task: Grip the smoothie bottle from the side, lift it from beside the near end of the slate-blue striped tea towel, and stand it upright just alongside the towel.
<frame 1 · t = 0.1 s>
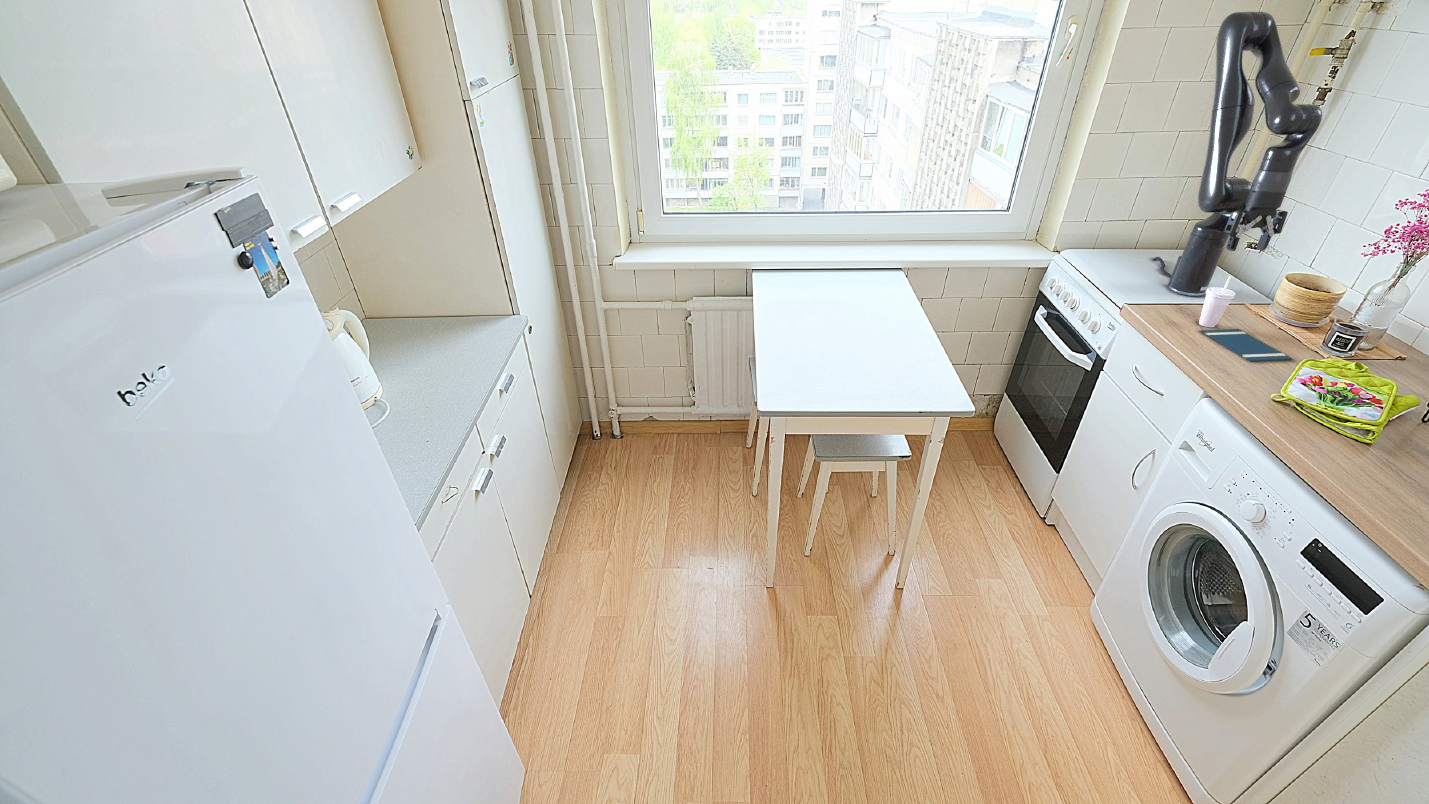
hand: (1245, 250, 174), 17 cm above the countertop, tool pointing down, fingers open, 8 cm apart
smoothie: (1206, 325, 174), on the countertop
tea towel: (1243, 345, 163), on the countertop
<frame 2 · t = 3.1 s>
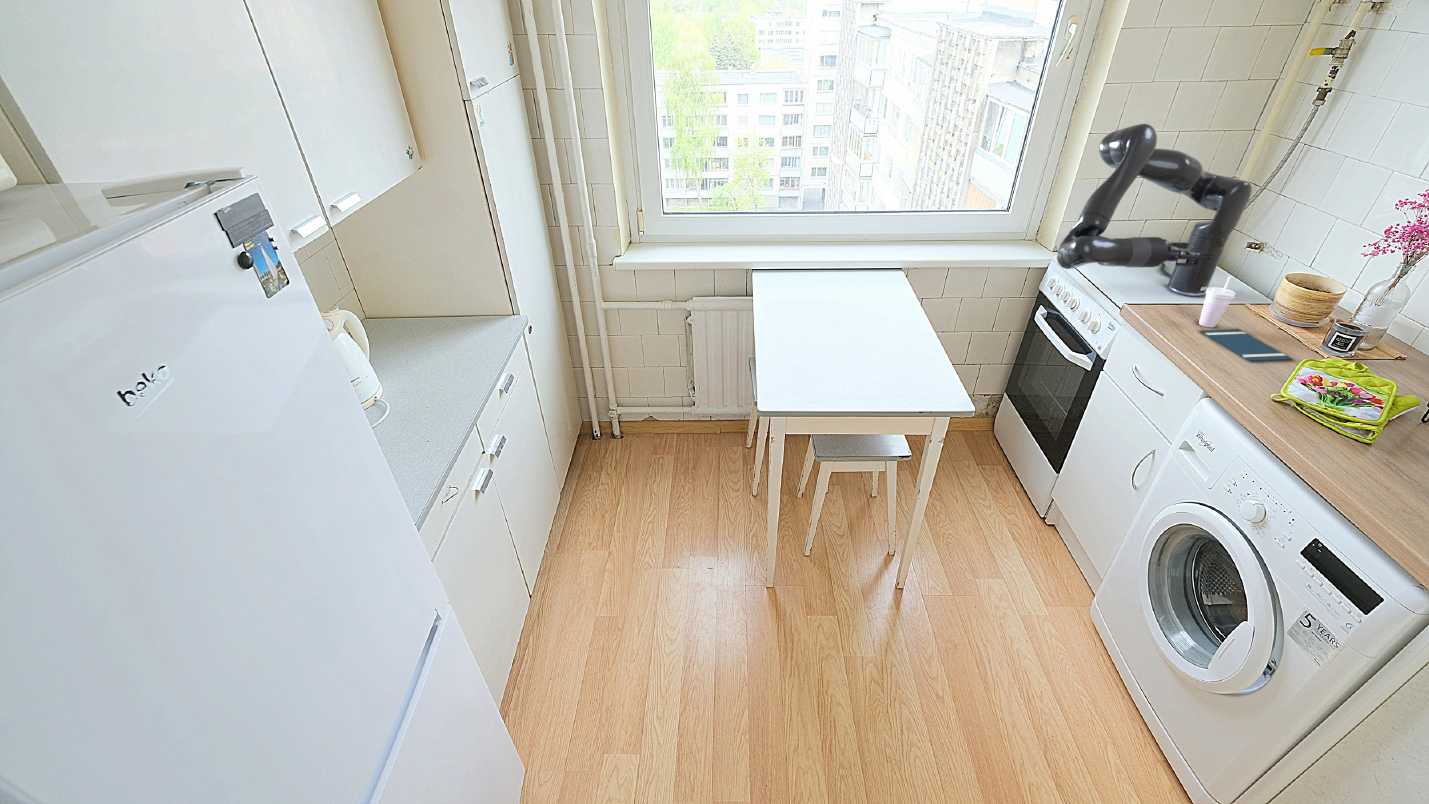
hand: (1198, 252, 163), 20 cm above the countertop, tool horizontal, fingers open, 8 cm apart
nothing on the countertop moved.
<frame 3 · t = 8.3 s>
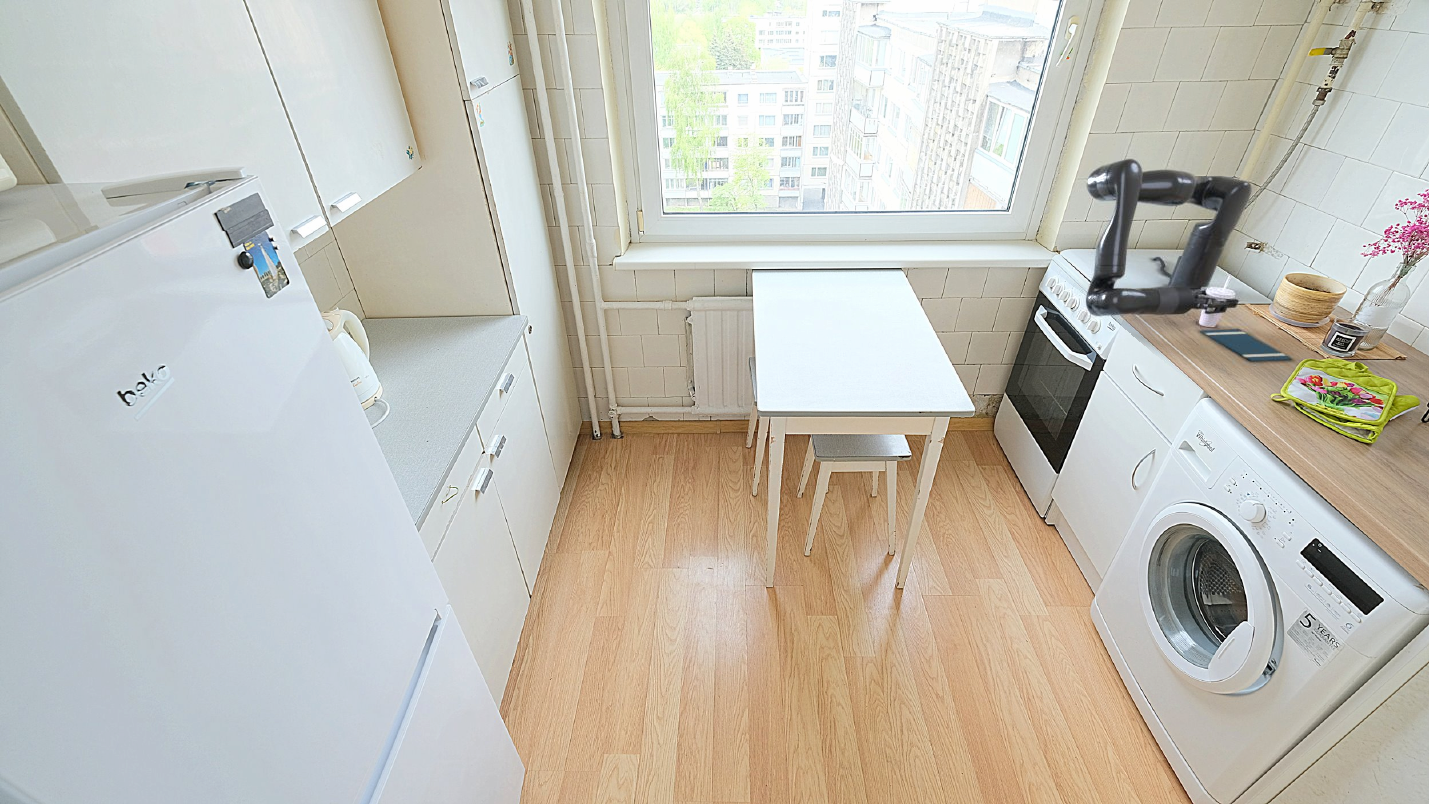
hand: (1226, 298, 170), 8 cm above the countertop, tool horizontal, fingers closed on smoothie, 6 cm apart
smoothie: (1206, 325, 173), on the countertop, touching gripper
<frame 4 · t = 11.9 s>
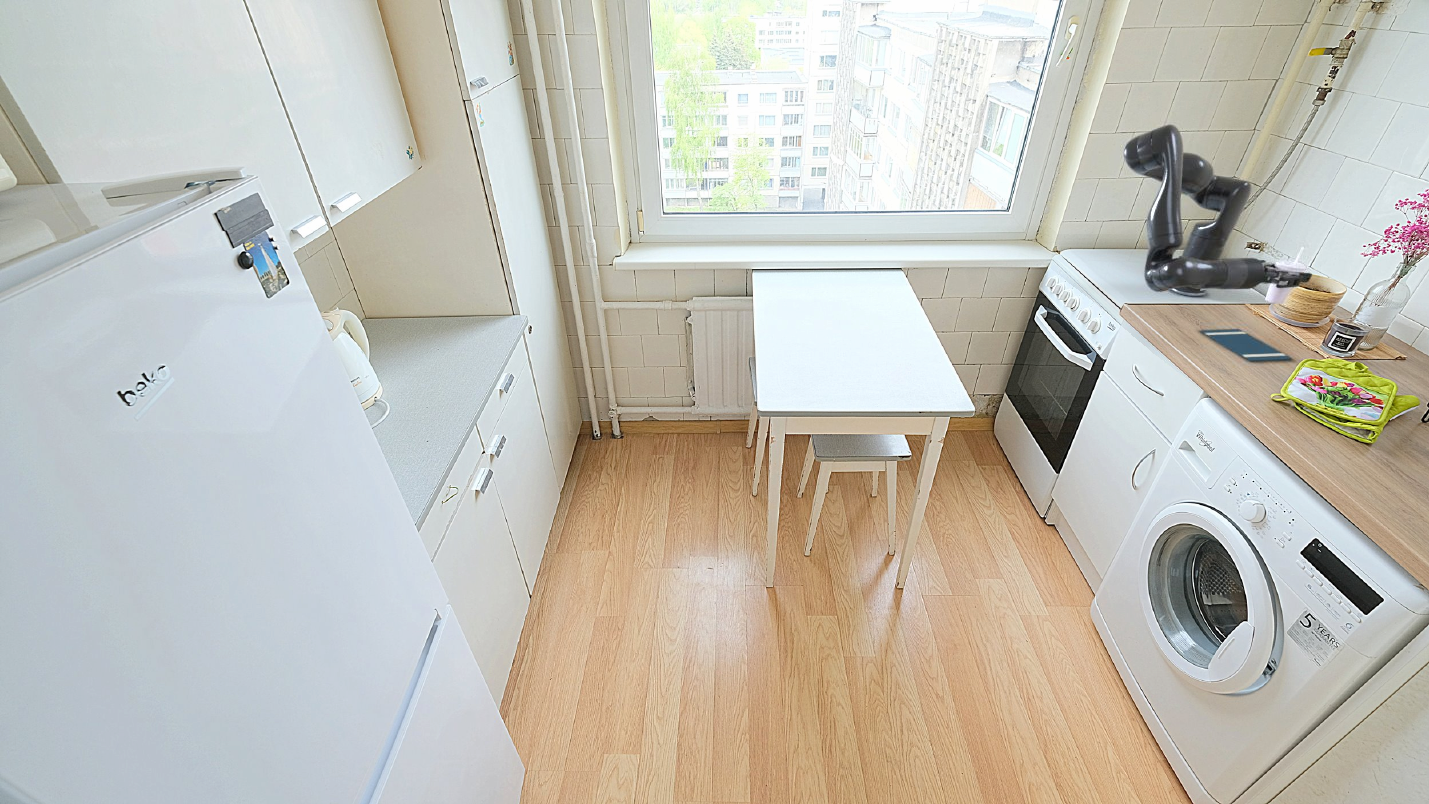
hand: (1297, 272, 157), 18 cm above the countertop, tool horizontal, fingers closed on smoothie, 6 cm apart
smoothie: (1273, 301, 161), point 10 cm above the countertop, touching gripper
when the fingers open (8 cm above the countertop, at t = 15.9 s): smoothie moves 3 cm, on the countertop.
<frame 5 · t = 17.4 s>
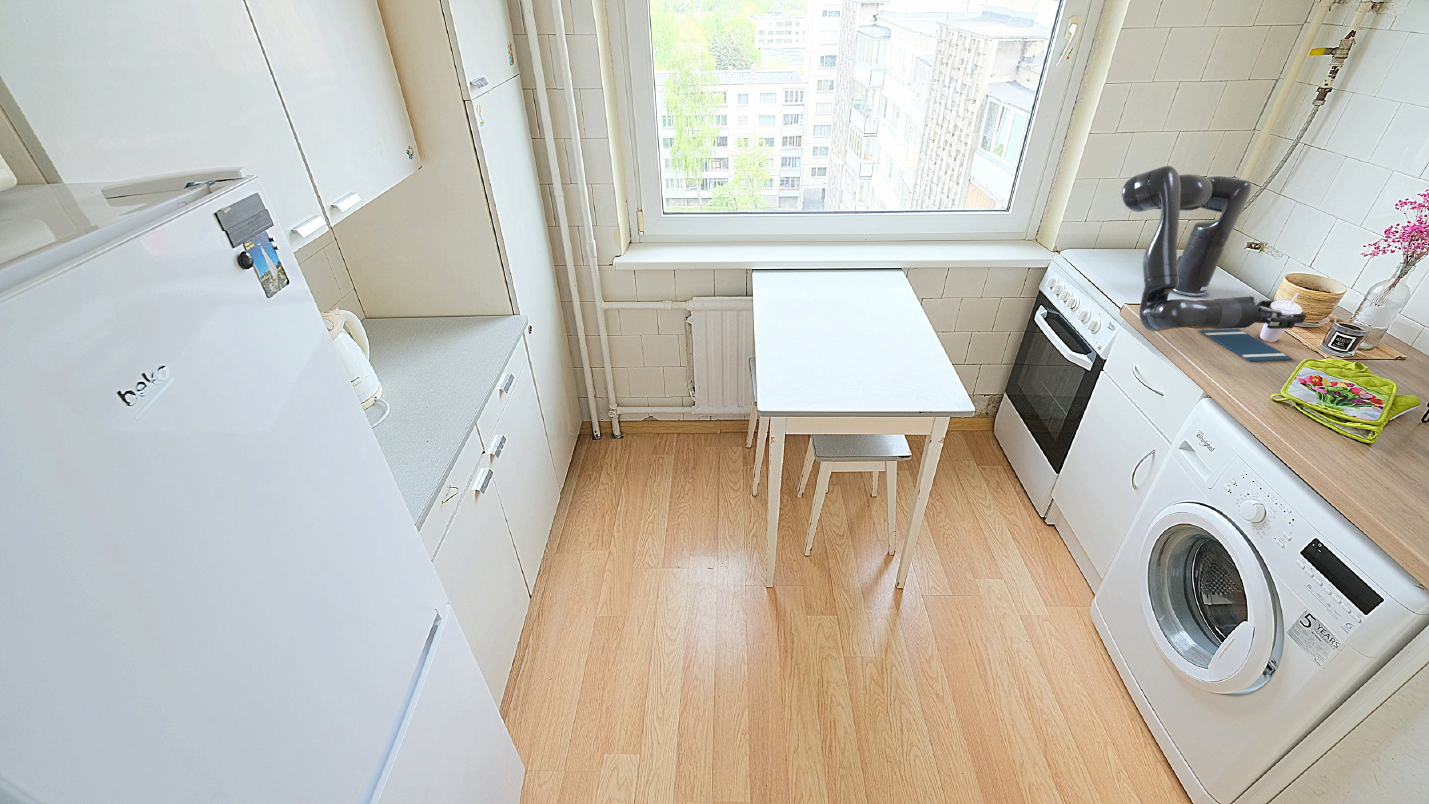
hand: (1289, 311, 159), 9 cm above the countertop, tool horizontal, fingers open, 8 cm apart
smoothie: (1268, 337, 165), on the countertop, touching gripper
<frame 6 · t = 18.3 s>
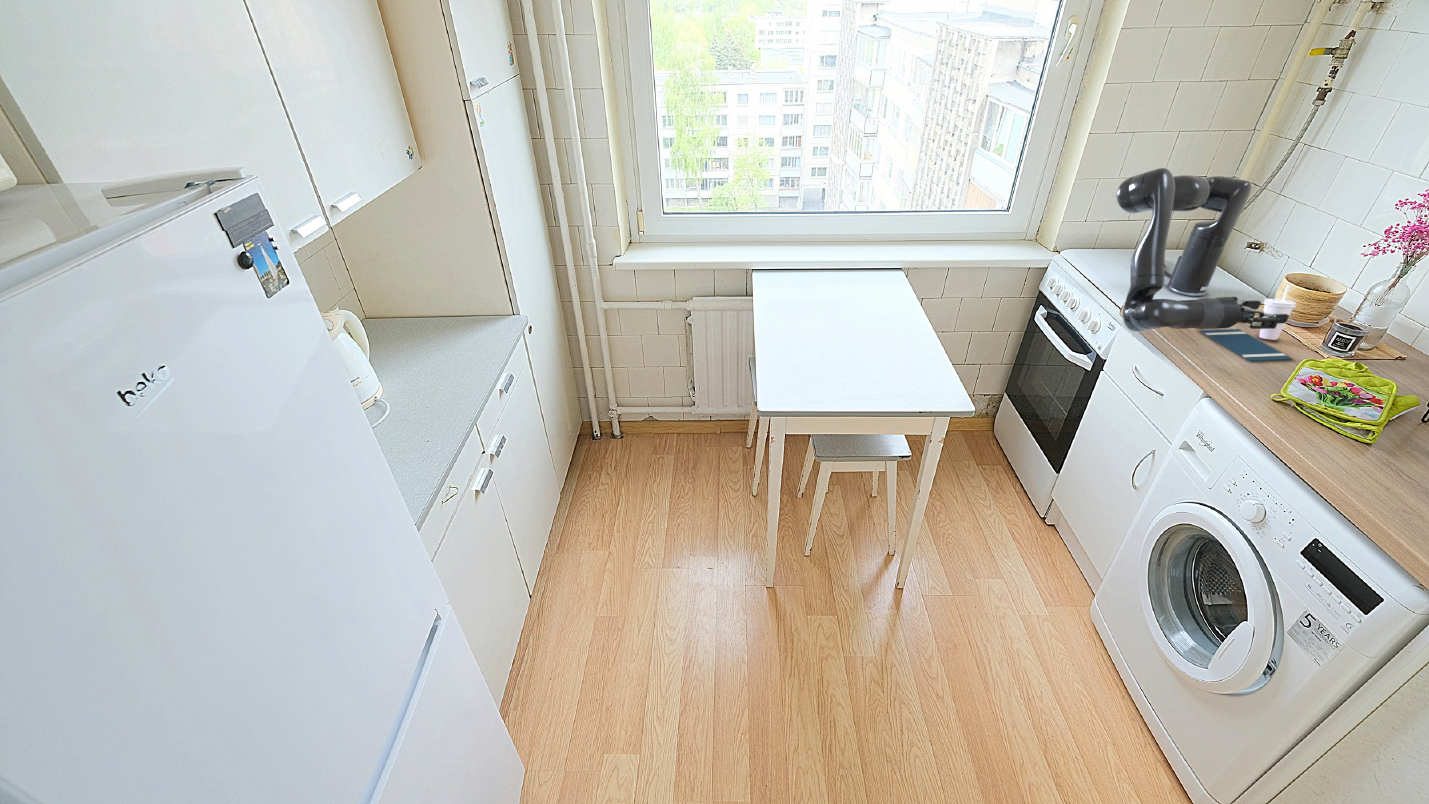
hand: (1272, 311, 158), 9 cm above the countertop, tool horizontal, fingers open, 8 cm apart
smoothie: (1267, 338, 166), on the countertop
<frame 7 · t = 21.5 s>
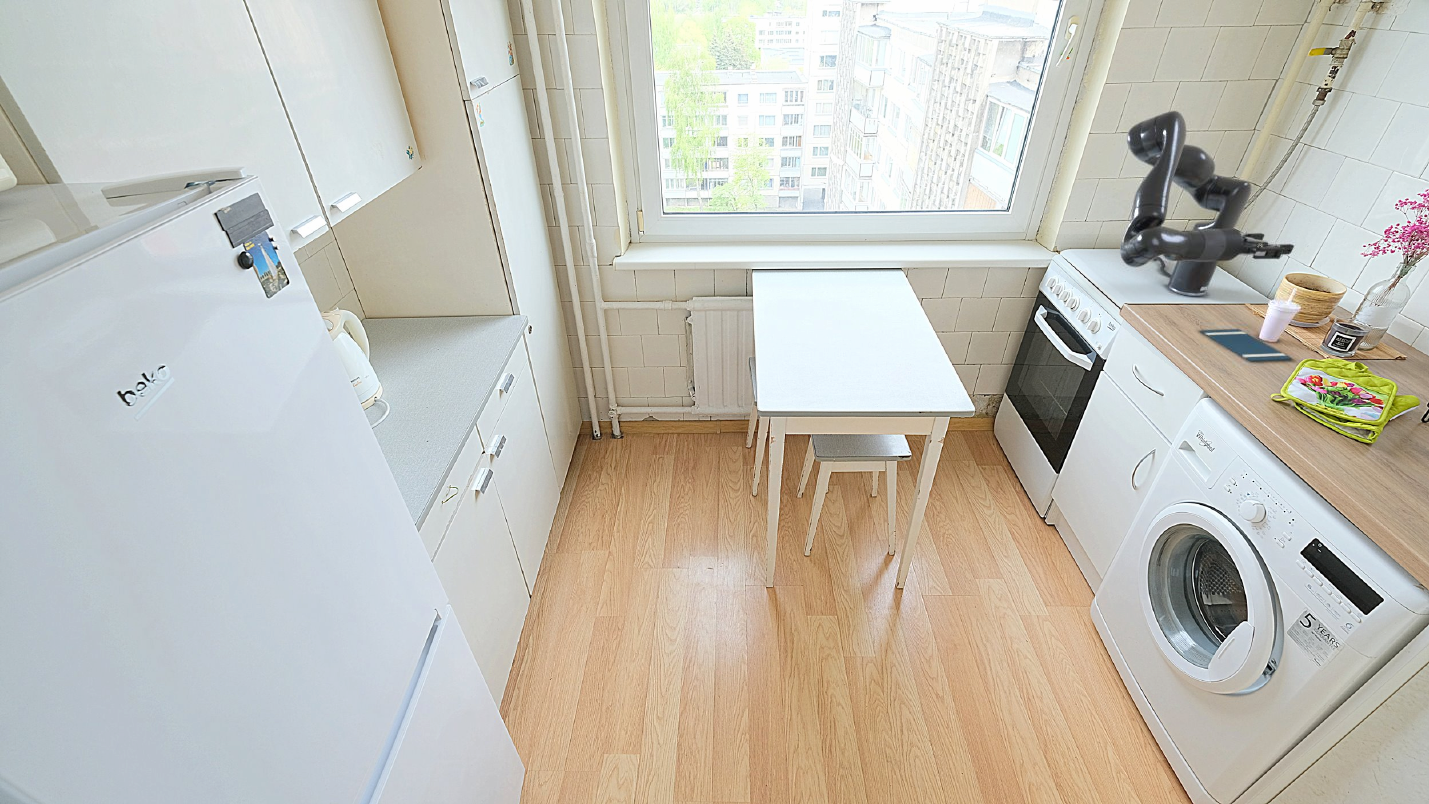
hand: (1276, 243, 151), 26 cm above the countertop, tool horizontal, fingers open, 8 cm apart
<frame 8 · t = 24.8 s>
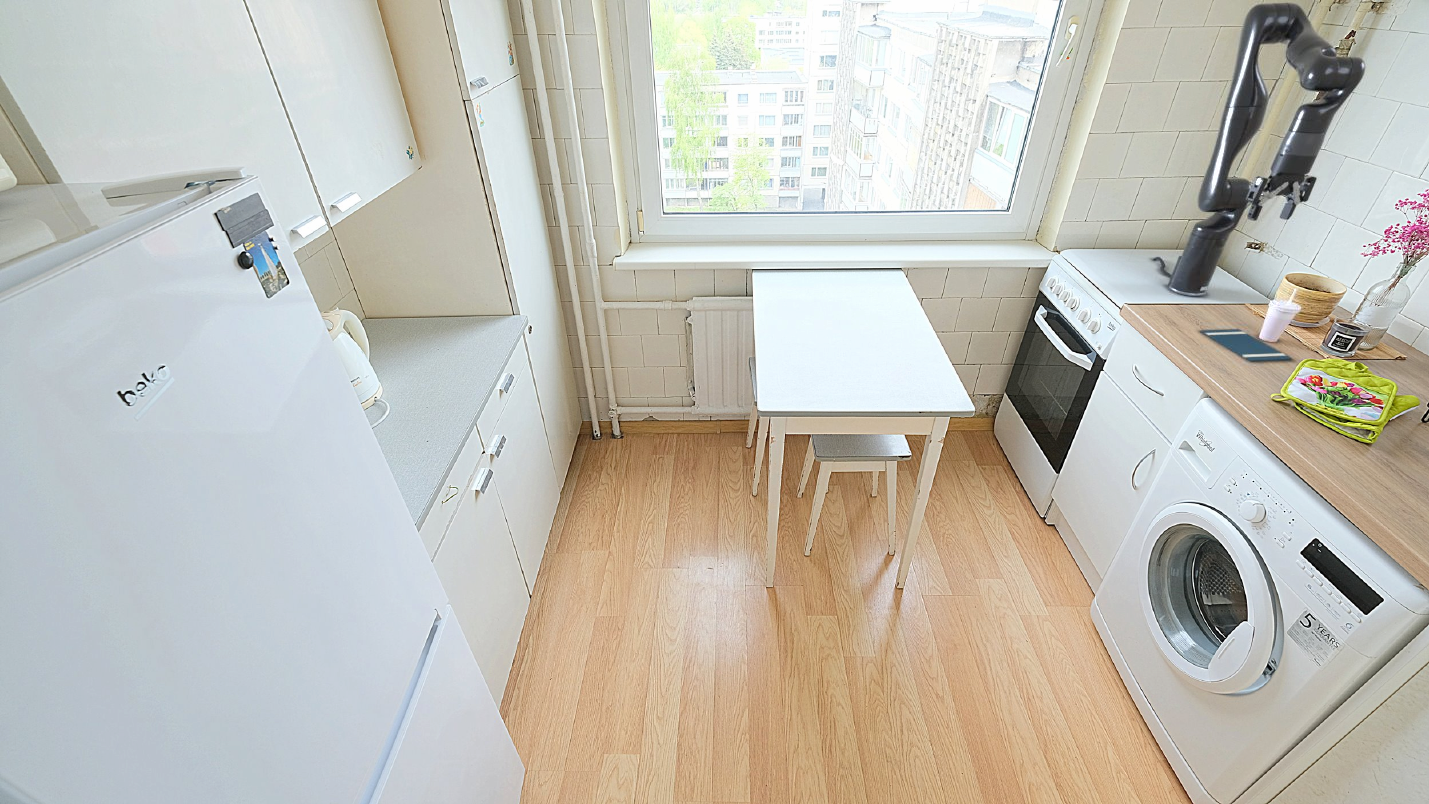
hand: (1267, 219, 160), 28 cm above the countertop, tool pointing down, fingers open, 8 cm apart
at the end: smoothie inside the target area (3.6 cm from its centre), on the countertop; smoothie touching countertop; smoothie tilted 1° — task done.
